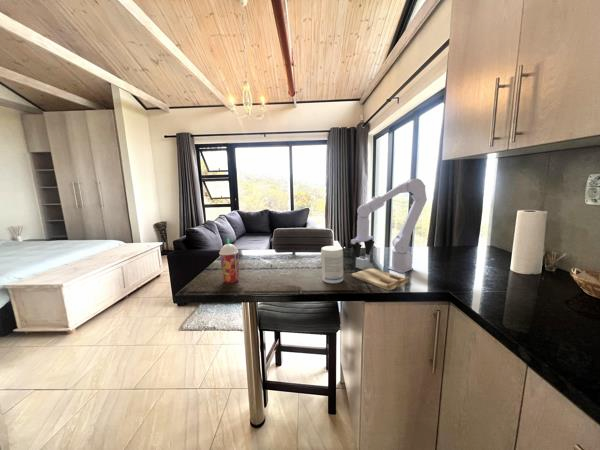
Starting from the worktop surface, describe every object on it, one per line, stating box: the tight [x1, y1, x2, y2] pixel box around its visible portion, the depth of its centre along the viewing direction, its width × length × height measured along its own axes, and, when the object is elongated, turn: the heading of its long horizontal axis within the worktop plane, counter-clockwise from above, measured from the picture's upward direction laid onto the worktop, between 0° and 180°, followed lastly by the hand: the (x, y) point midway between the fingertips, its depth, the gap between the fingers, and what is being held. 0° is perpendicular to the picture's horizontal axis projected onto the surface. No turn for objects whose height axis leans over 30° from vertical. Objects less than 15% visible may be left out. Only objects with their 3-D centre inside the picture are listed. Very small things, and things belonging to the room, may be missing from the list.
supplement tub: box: [320, 245, 344, 284], centre depth 107 cm, size 10×10×15 cm
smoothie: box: [218, 237, 240, 284], centre depth 108 cm, size 8×8×20 cm
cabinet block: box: [355, 255, 370, 271], centre depth 122 cm, size 4×5×6 cm
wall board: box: [351, 267, 411, 292], centre depth 107 cm, size 14×20×2 cm
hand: (362, 255), depth 122 cm, fingers open, 7 cm apart
